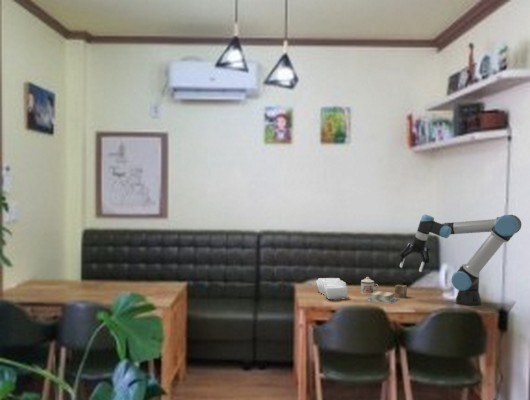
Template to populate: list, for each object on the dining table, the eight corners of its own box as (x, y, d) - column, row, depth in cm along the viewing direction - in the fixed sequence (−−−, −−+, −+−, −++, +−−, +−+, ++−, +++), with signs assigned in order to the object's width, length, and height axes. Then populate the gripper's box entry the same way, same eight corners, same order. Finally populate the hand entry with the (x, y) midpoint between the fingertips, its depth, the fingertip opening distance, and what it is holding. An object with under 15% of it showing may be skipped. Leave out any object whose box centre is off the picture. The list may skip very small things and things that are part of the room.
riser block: (394, 299, 353) (394, 293, 353) (388, 302, 343) (388, 296, 343) (376, 297, 359) (376, 291, 359) (370, 300, 349) (370, 294, 349)
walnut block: (406, 297, 362) (406, 285, 362) (403, 299, 357) (404, 286, 357) (397, 296, 365) (397, 284, 365) (394, 298, 360) (395, 285, 360)
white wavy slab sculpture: (349, 301, 347) (350, 285, 347) (323, 301, 346) (324, 285, 345) (338, 291, 382) (338, 275, 381) (314, 291, 381) (315, 275, 380)
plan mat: (399, 300, 353) (400, 299, 353) (392, 304, 340) (392, 303, 340) (373, 296, 363) (373, 296, 362) (364, 301, 349) (364, 300, 349)
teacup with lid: (361, 295, 367) (361, 278, 366) (359, 292, 376) (359, 275, 376) (379, 295, 366) (379, 278, 366) (377, 293, 375) (377, 276, 375)
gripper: (436, 241, 356) (425, 271, 360) (400, 232, 352) (390, 263, 356) (441, 244, 349) (430, 275, 353) (404, 236, 345) (394, 267, 349)
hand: (410, 269), depth 355 cm, fingers open, 13 cm apart
